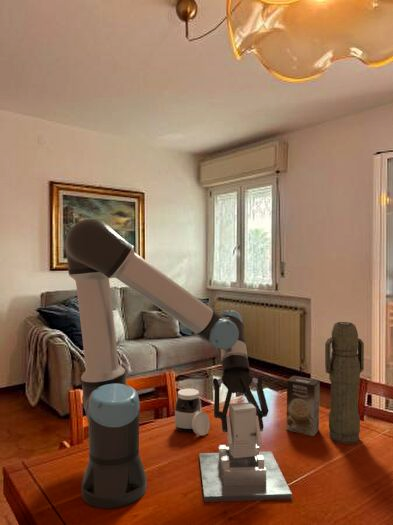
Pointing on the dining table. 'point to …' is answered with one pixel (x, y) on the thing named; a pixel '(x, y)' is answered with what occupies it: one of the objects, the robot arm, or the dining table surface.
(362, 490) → the dining table surface
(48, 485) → the dining table surface
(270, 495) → the box holder fixture
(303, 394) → the coffee box
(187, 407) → the spread jar
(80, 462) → the dining table surface
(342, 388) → the thermos
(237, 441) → the skincare box
